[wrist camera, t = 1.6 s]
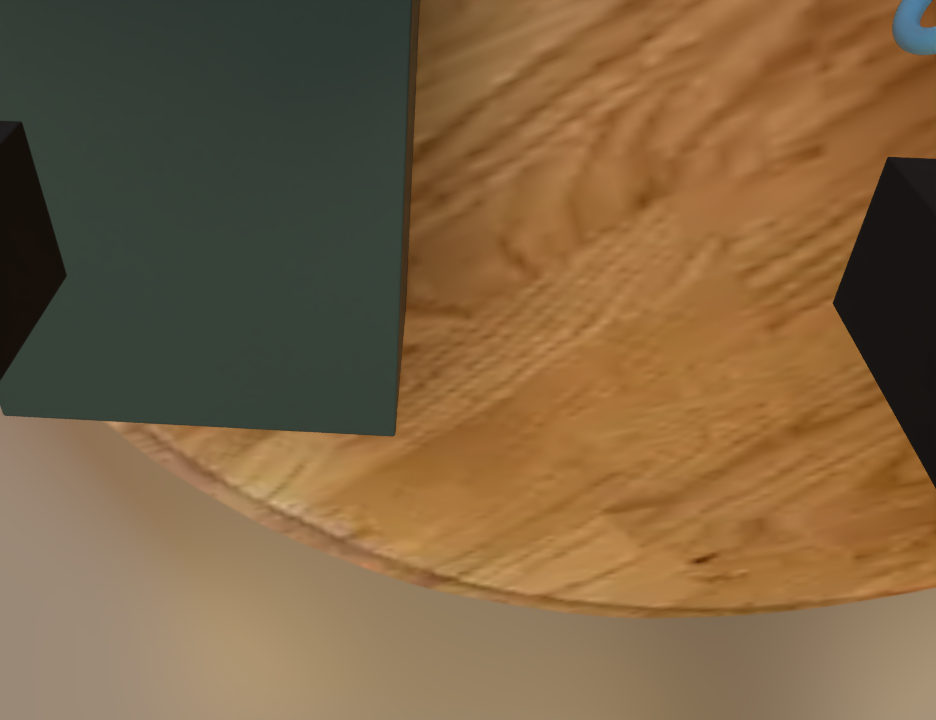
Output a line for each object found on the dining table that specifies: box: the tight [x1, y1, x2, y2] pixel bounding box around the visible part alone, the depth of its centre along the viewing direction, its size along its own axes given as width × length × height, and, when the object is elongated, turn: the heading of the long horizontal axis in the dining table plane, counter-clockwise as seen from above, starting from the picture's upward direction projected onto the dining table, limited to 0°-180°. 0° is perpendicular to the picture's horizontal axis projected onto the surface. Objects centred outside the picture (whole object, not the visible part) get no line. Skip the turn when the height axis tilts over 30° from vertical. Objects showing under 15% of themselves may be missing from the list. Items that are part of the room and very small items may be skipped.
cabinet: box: [0, 0, 420, 436], centre depth 31 cm, size 19×15×9 cm
